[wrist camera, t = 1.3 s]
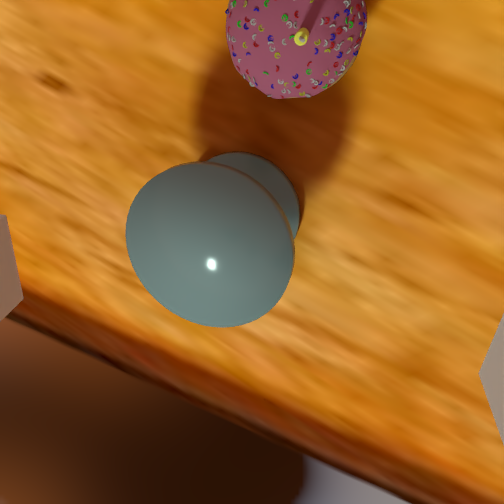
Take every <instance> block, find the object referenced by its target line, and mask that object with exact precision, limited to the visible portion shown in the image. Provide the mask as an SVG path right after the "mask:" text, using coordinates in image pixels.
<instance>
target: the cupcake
mask: <svg viewBox="0 0 504 504" xmlns="http://www.w3.org/2000/svg"><path fill="white" fill-rule="evenodd" d="M225 13H226V14H227V20H226V37H227V43H228V47H229V50H230V54H231V58H232V61H233V64H234V66H235V68H236V70H237V71H238V72H239V73H240V74H241V75H242V76H243V78H244V79H246V80H247V81H248V82H249V83H250V86H252V87H254V86H255V87H256V88H257V89H259V90H260V91H262V92H263V93H265V94H266V95H267V97H272V98H275V99H283V98H298V97H311V96H314V95H316V94H318V93H320V92H322V91H324V90H326V89H327V88H329V87H331V86H332V85H334V84H335V83H336V82H337V81H339V80H340V79H341V78H342V77H343V75H344V74H345V73H346V72H347V71H348V69H349V68H350V67H351V65H352V64H353V62H354V61H355V59H356V57H357V54H358V52H359V49H360V46H361V42H362V39H363V37H364V34H365V31H366V26H367V11H366V5H365V2H364V0H229V3H228V8H227V10H226V11H225Z"/></svg>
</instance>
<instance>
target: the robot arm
mask: <svg viewBox="0 0 504 504" xmlns="http://www.w3.org/2000/svg"><path fill="white" fill-rule="evenodd" d="M22 300H23V294H22V289H21V284H20V279H19V275H18V270H17V265H16V260H15V256H14V251H13V246H12V241H11V237H10V232H9V227H8V222H7V217H6V215H0V321H1V320H2V319H3V318H4V317H5V316H6V315H7V314H8V313H9V312H10V311H11V310H12V309H13V308H15V307H16V306H17V305H18V304H19V303H20V302H21V301H22ZM479 376H480V379H481V382H482V385H483V387H484V390H485V393H486V396H487V399H488V402H489V405H490V407H491V410H492V413H493V416H494V419H495V422H496V424H497V427H498V430H499V433H500V436H501V439H502V441H503V444H504V314H503V317H502V319H501V321H500V324H499V326H498V328H497V331H496V333H495V336H494V338H493V340H492V343H491V345H490V347H489V350H488V352H487V355H486V357H485V359H484V362H483V364H482V367H481V369H480V371H479Z"/></svg>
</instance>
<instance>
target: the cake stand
mask: <svg viewBox="0 0 504 504" xmlns="http://www.w3.org/2000/svg"><path fill="white" fill-rule="evenodd" d="M299 224H300V205H299V200H298V197H297V194H296V191H295V189H294V187H293V185H292V183H291V182H290V180H289V179H288V177H287V176H286V175H285V174H284V173H283V171H282V170H280V169H279V168H278V167H277V166H276V165H275V164H273V163H272V162H270V161H269V160H267V159H265V158H263V157H261V156H258V155H255V154H252V153H247V152H228V153H223V154H220V155H217V156H215V157H213V158H211V159H209V160H208V161H206V162H205V161H199V162H188V163H183V164H180V165H177V166H174V167H171V168H169V169H167V170H166V171H164V172H162V173H160V174H158V175H157V176H155V177H154V178H153V179H151V180H150V181H149V182H147V183H146V184H145V185H144V186H143V188H142V189H141V190H140V191H139V193H138V194H137V195H136V197H135V199H134V201H133V203H132V205H131V207H130V210H129V213H128V217H127V223H126V244H127V249H128V254H129V257H130V260H131V263H132V266H133V268H134V270H135V272H136V274H137V276H138V278H139V279H140V281H141V282H142V284H143V285H144V287H145V288H146V289H147V290H148V292H149V293H150V294H151V295H152V296H153V297H154V298H155V299H156V300H157V301H158V302H159V303H161V304H162V305H163V306H164V307H165V308H167V309H168V310H170V311H171V312H173V313H174V314H176V315H178V316H180V317H182V318H184V319H186V320H189V321H191V322H194V323H197V324H201V325H205V326H211V327H234V326H239V325H243V324H246V323H249V322H252V321H254V320H256V319H258V318H260V317H261V316H263V315H264V314H266V313H267V312H268V311H269V310H271V309H272V308H273V307H274V306H275V305H276V303H277V302H278V301H279V300H280V298H281V297H282V295H283V293H284V291H285V290H286V287H287V285H288V283H289V280H290V278H291V275H292V272H293V267H294V260H295V246H294V239H295V237H296V234H297V231H298V228H299Z"/></svg>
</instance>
